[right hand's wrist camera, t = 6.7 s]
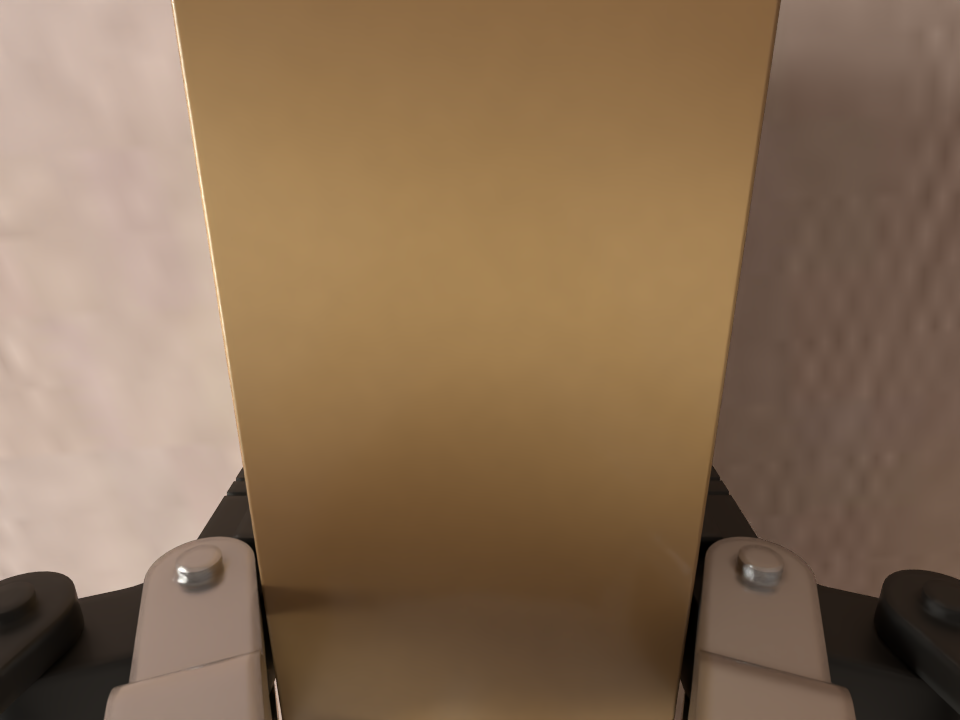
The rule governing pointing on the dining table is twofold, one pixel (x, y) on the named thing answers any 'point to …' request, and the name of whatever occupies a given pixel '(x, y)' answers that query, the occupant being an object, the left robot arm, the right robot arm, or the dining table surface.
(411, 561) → the post
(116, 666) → the right robot arm
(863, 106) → the dining table surface
